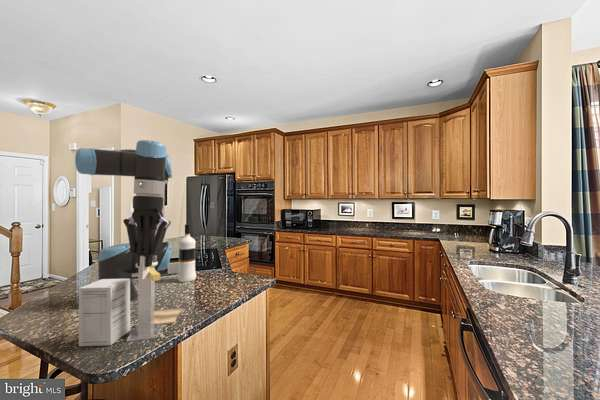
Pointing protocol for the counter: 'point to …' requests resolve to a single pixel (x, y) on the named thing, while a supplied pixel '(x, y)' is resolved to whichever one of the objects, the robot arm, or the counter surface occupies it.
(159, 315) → the trivet
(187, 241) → the vodka
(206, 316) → the counter surface
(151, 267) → the handwheel arm
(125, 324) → the supplement box
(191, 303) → the counter surface
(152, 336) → the post
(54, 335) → the counter surface
